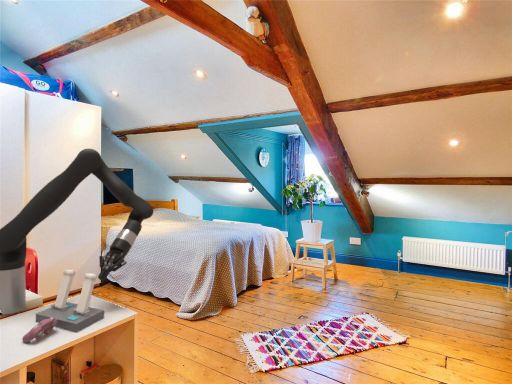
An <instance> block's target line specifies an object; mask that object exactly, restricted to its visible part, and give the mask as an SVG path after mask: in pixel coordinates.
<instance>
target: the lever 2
mask: <svg viewBox="0 0 512 384" xmlns="http://www.w3.org/2000/svg"><path fill="white" fill-rule="evenodd" d="M97 278H98V275H97V274H96V273H92V272H91V273H90V272H86V273H85V274H84V281H83V284H82V288H81V292H80V295H79V299H78V303H77V304H78V306H77V309H76V313H80V314H84V312H86V311H87V310H88V307H90V305H89V304H90V302H91V298H92V294H93V290H94V286H95V283H96V280H97Z"/></svg>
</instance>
